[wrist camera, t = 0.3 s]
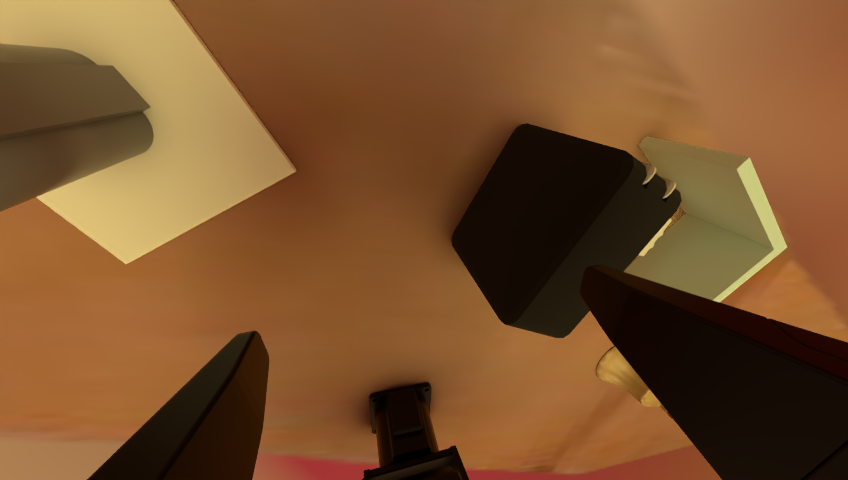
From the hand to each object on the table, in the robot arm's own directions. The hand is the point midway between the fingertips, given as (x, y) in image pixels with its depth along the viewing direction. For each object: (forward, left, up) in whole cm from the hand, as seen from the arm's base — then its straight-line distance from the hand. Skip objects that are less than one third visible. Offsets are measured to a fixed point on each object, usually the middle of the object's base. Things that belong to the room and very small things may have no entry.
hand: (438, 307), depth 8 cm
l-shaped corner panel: (-6, -22, -15) cm, 27 cm away
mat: (+4, +14, -14) cm, 20 cm away
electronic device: (-2, -9, -14) cm, 17 cm away
